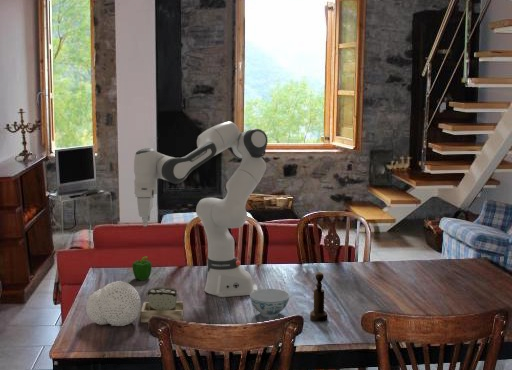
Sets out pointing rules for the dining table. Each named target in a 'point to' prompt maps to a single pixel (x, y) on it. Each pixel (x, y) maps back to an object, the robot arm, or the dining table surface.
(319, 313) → the pepper mill
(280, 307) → the chinaware
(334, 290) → the dining table surface
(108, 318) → the white bumpy round lump
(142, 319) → the wooden tray
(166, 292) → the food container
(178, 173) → the robot arm
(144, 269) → the bell pepper
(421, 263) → the dining table surface
